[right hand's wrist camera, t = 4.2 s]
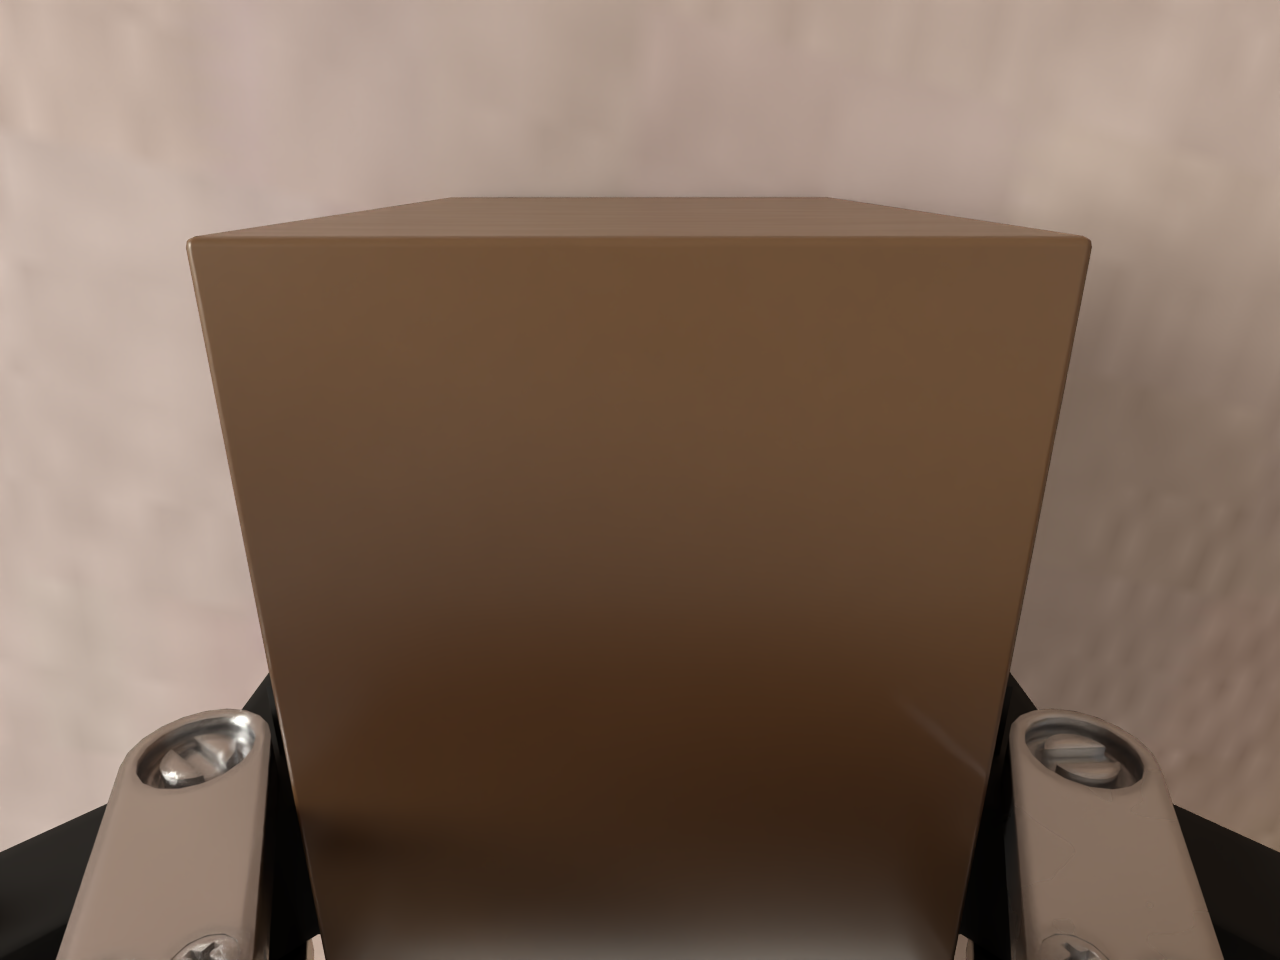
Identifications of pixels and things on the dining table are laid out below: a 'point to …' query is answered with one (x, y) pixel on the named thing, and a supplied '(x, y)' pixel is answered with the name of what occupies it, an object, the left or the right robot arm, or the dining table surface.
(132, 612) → the dining table surface
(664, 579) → the post
